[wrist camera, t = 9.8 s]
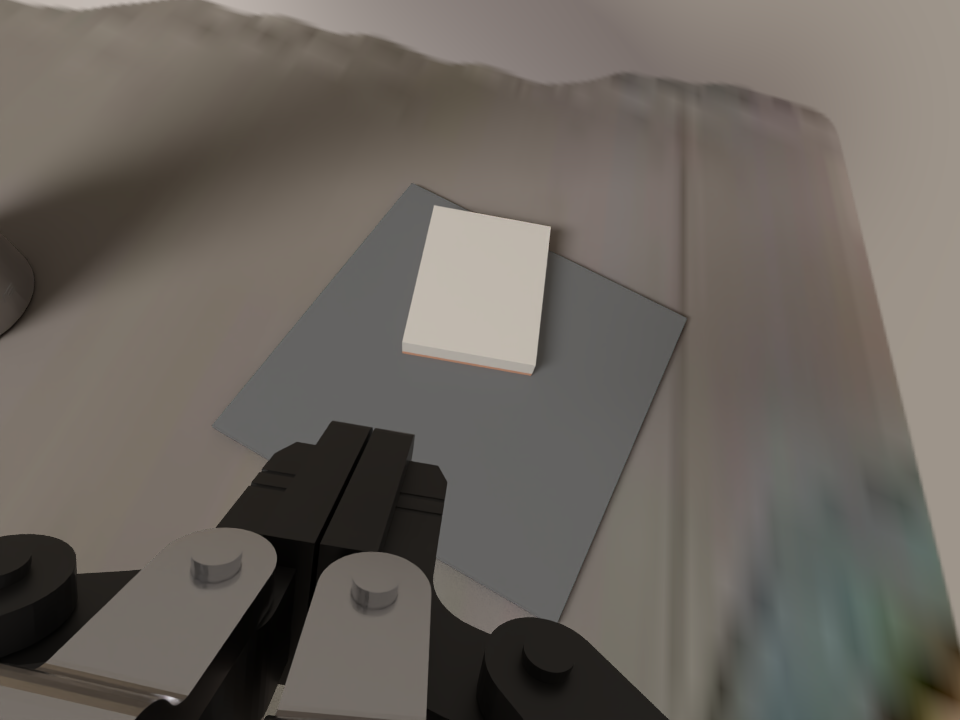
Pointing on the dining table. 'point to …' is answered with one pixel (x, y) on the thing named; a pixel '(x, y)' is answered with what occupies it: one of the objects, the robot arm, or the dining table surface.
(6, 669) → the robot arm
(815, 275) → the dining table surface
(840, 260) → the dining table surface
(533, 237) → the tile
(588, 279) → the mat
